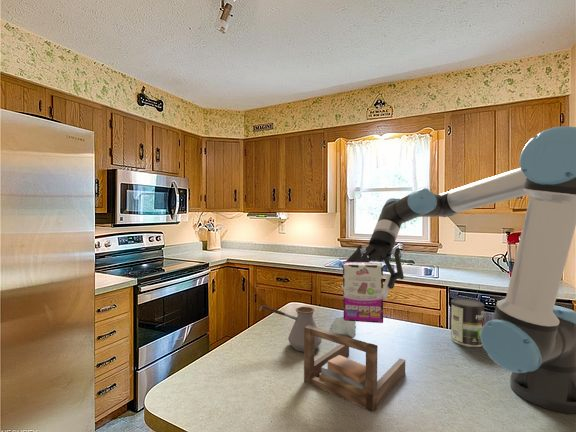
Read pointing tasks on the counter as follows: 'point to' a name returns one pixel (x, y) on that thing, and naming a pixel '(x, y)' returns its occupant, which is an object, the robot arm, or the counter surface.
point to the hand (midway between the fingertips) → (362, 293)
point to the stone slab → (343, 327)
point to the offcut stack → (345, 374)
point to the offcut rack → (312, 369)
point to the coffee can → (467, 322)
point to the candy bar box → (363, 291)
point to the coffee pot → (299, 326)
